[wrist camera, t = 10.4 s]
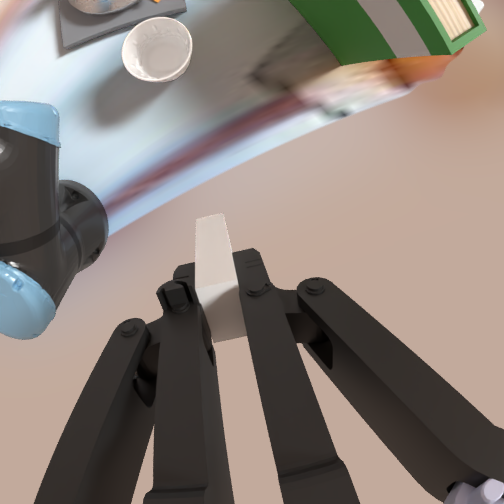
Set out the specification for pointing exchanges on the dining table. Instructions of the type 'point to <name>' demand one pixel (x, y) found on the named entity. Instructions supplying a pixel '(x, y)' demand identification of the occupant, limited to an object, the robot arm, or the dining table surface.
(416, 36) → the hardback book
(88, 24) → the dial base
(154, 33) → the white cup
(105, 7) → the capstan dial
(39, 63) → the dining table surface
